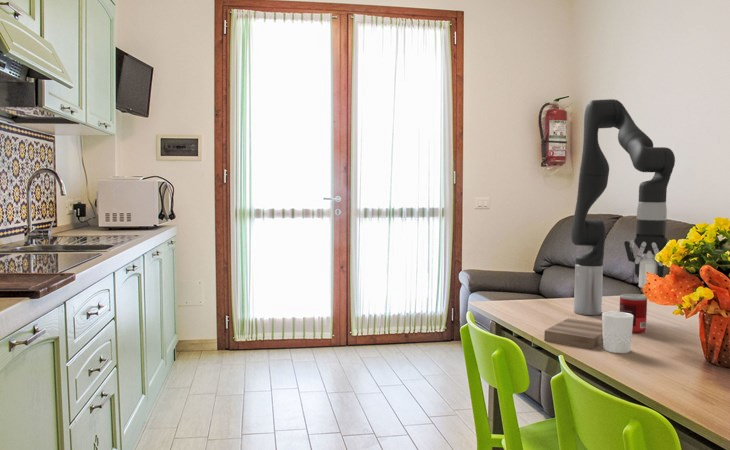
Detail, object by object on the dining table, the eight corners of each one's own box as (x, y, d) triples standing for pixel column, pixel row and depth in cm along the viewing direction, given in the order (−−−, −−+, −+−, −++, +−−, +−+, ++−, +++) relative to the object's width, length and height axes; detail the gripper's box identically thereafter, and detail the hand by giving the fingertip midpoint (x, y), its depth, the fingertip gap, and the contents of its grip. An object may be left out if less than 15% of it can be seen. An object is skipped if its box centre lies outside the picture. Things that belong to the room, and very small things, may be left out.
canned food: (644, 328, 181) (645, 294, 180) (647, 334, 174) (648, 299, 173) (617, 326, 184) (618, 292, 183) (620, 332, 176) (621, 297, 175)
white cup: (596, 345, 161) (597, 311, 160) (624, 346, 161) (626, 311, 160) (607, 354, 153) (608, 317, 153) (637, 354, 153) (638, 317, 152)
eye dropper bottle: (661, 289, 160) (663, 246, 159) (639, 288, 162) (641, 246, 161) (657, 286, 164) (659, 245, 163) (636, 285, 166) (638, 244, 165)
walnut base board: (567, 327, 182) (568, 318, 182) (614, 334, 173) (614, 324, 173) (544, 340, 167) (544, 330, 166) (593, 349, 158) (594, 338, 158)
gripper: (682, 218, 160) (679, 278, 161) (627, 216, 169) (625, 273, 170) (677, 219, 154) (674, 282, 155) (621, 217, 163) (619, 276, 164)
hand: (649, 277), depth 163 cm, fingers closed on eye dropper bottle, 4 cm apart
